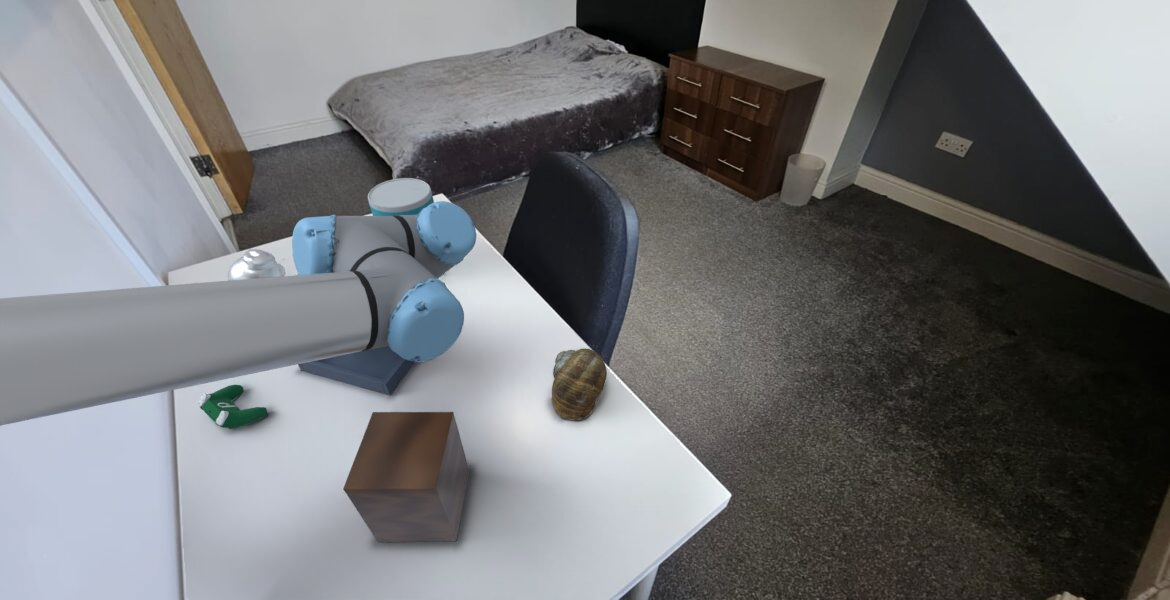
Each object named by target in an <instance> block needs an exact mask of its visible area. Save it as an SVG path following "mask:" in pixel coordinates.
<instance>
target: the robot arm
mask: <svg viewBox="0 0 1170 600" xmlns="http://www.w3.org/2000/svg"><path fill="white" fill-rule="evenodd" d="M476 242H477V230H476V226H475V224H474V221H473V220H472V218H471V217H470V215H469V214H468V213H467V212H466V210H464V209H463V208H462V207H461V206H459V205H457V204H455V203H453V202H449V201H446V200H445V201H444V200H439V201H438V200H437V201H434V203H432V204H430V205H428V206H427V207H426V208H423V209H422V210H421V211H420V212H419V214H417V215H396V216H373V215H336V214H331V215H324V216H312V217H311V216H310V217H303V218H302V219H300V220H299V221H298V222H296V224H295V226H294V228H293V231H292V237H291V249H292V257H293V262H294V267H295V269H296V271H297V275H285V276H283V277H270V278H257V279H244V280H231V281H228V280H221V281H219V280H218V281H207V282H193V283H179V284H168V285H158V286H157V285H155V286H154V285H153V286H143V287H141V286H140V287H129V288H115V289H103V290H89V291H77V292H75V291H74V292H64V293H51V294H37V295H26V296H25V295H24V296H13V297H11V296H10V297H0V427H2V426H5V425H10V424H16V423H20V422H25V421H30V420H34V419H39V418H44V417H49V416H53V415H59V414H64V413H68V412H73V411H78V410H84V409H88V408H93V407H97V406H104V405H106V404H112V403H116V402H122V401H127V400H132V399H137V398H142V397H146V396H150V395H156V394H161V393H167V392H170V391H176V390H181V389H186V388H190V387H194V386H200V385H204V384H209V383H214V382H219V381H225V380H229V379H235V378H238V377H242V376H243V377H244V376H248V375H253V374H259V373H262V372H268V371H273V370H277V369H282V368H287V367H291V366H296V365H298V364H302V363H306V362H311V361H316V360H321V359H326V358H331V357H336V356H340V355H345V354H350V353H355V352H360V351H365V350H371V349H376V348H381V347H386V346H389V347H390V349H391V350H392V351H393V352H395V353H396V354H398V355H399V356H400V357H402V358H403V359H406V360H409V361H415V363H424V362H429V361H432V360H434V359H436V358H438V357H440V356H442V355H443V354H445V353H447V351H448V350H449V349H451V348H452V346H454V344H455V343H456V342H457V340H458V339H459V337H460V335H461V333H462V330H463V326H464V323H465V311H464V308H463V306H462V303H461V302H460V300H459V299H457V297H456V296H455V295H454V294H453V293H452V291H451V290H450V289H449V288H448V287H447V285H446V284H445V283H444V282H443V281H442V280H441V279H439V278H440V277H441V276H443V275H444V274H446V273H447V272H449V270H451V269H452V268H453V267H455V266H457V265H458V264H460V263H461V262H462V261H464V259H465V258H466V257H467V255H468V254H469V253H471V251H472V250H473V249H474V247H475V245H476Z"/></svg>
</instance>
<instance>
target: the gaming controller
mask: <svg viewBox="0 0 1170 600" xmlns="http://www.w3.org/2000/svg"><path fill="white" fill-rule="evenodd" d="M243 392H244V387H243V386H242V385H241V384H229V385H227V386H224V387H222V388H220V389H218V390H216V391H214V392H212V393H206V392H205V393H204V392H203V394H202V395H201V397H200V399H199V401H198V406H199V408H200V410H202V411H203V412H204V413H205V414H206V415H207V416H208V418H210V420H212V422H214V423H215V425H217V426H218V427H220V428H224V429H230V430H231V429H234V428H240V427H244V426H246V425H249V424H252V423H254V422H257V421H259V420H261V419H262V418H265V417H266V416H267V415H269V414H268V413H269V412H268V410H267V407H264V406H255V407H249V408H244V409H240V408H239V406H237V405H236V404H235V403H233V401H234V400H235V399H237V398H239V396H241V395H242V394H243Z"/></svg>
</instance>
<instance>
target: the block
mask: <svg viewBox="0 0 1170 600" xmlns="http://www.w3.org/2000/svg"><path fill="white" fill-rule="evenodd" d="M467 459H468V458H467V456H466V452H465V450H464V445H463V442H462V438H461V434H460V430H459V427H458V424H457V420H456V417H455V411H373V412H372V413H371V416H370V418H369V421H368V423H367V426H366V429H365V431H364V433H363V436H362V439H361V442H360V443H359V447H358V450H357V451H356V455H355V457H354V459H353V462H352V465H351V467H350V470H349V472H348V476H347V478H346V481H345V483H344V485H343V488H342V489H343V491H344V492H345V494H346V495H347V497H348V499H349V500H350V503H352V505H353V506H354V508H355V510H356V511H357V512H358V515H360V517H361V518H362V520H363V522H364V523H365V525H366V527H367V528H368V530H369V531H370V532H371V534H372V535H373V537H374V538H375V540H376V542H377V543H418V542H419V543H420V542H421V543H422V542H424V543H425V542H426V543H427V542H430V543H432V542H457V539H458V534H459V530H460V529H459V528H460V522H461V517H462V511H463V507H464V502H465V497H466V490H467V484H468V478H469V473H470V467H469V464H468V460H467Z"/></svg>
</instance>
